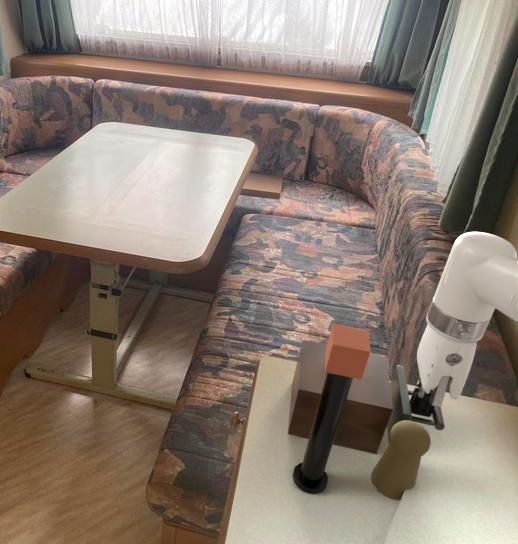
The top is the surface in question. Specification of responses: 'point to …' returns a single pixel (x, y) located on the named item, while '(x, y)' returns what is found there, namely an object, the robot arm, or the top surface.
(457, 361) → the robot arm
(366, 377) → the cabinet
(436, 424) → the drawer
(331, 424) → the stand
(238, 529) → the top surface
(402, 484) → the cork
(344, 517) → the top surface
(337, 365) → the block
